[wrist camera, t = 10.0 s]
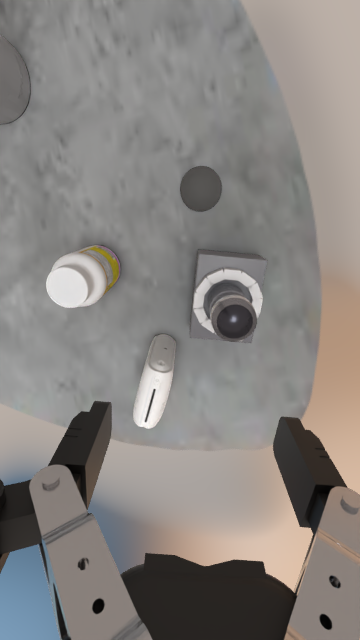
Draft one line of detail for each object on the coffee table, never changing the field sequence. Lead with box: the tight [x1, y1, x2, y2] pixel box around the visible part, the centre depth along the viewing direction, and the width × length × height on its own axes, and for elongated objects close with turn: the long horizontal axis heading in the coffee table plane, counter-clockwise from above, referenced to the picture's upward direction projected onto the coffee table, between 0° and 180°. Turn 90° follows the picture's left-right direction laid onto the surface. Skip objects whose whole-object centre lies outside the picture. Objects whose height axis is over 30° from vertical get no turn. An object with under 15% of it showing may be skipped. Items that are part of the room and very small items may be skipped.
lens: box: [208, 283, 257, 342], centre depth 36 cm, size 5×5×8 cm
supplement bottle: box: [46, 245, 120, 308], centre depth 37 cm, size 7×7×13 cm
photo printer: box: [133, 334, 176, 429], centre depth 43 cm, size 10×4×12 cm, turn 165°
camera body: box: [190, 249, 267, 343], centre depth 41 cm, size 9×12×6 cm
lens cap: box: [180, 166, 222, 211], centre depth 39 cm, size 6×6×1 cm
